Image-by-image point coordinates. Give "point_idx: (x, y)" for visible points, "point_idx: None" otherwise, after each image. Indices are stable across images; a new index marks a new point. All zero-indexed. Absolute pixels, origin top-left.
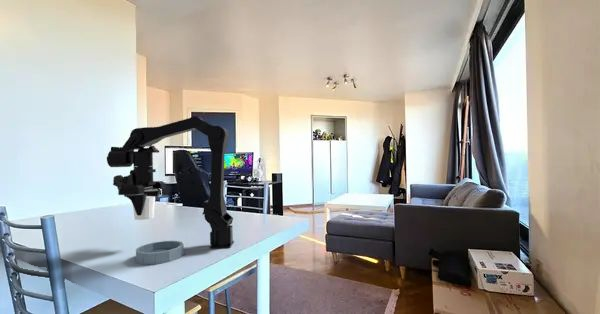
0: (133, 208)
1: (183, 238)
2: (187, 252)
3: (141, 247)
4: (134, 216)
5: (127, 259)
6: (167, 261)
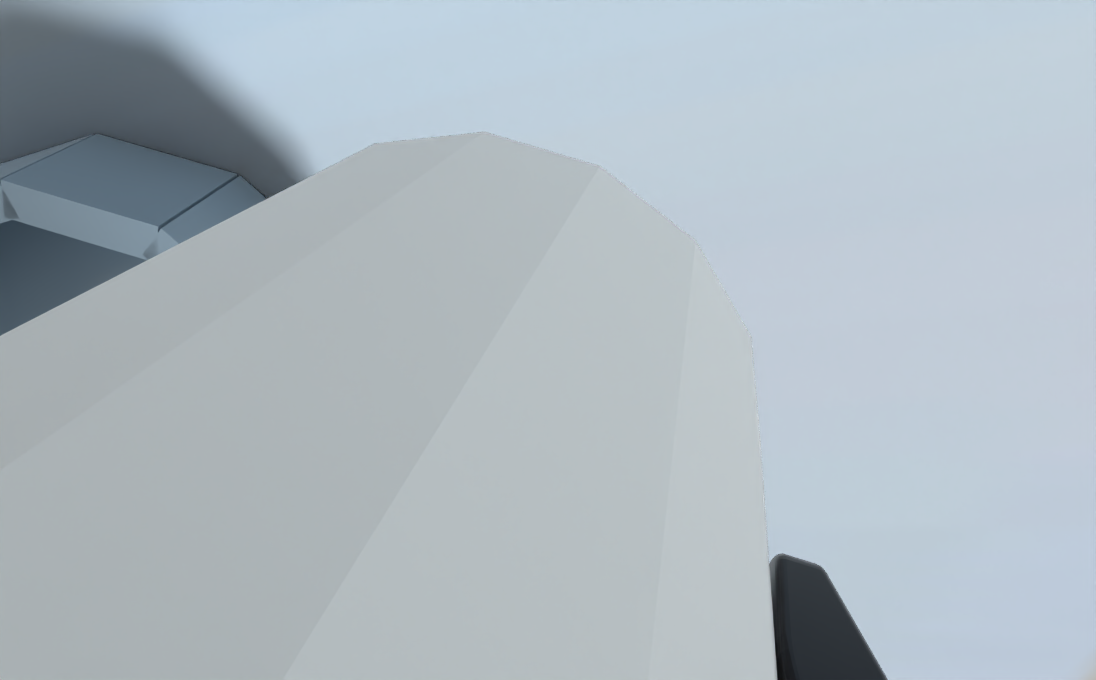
0: (115, 281)
1: (996, 616)
2: None
3: (77, 237)
4: (313, 177)
5: (93, 17)
6: None
